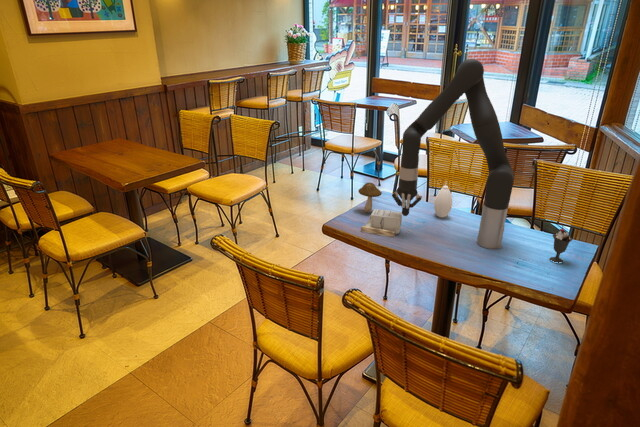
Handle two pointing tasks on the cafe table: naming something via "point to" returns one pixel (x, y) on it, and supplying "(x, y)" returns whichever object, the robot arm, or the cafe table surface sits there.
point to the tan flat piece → (377, 230)
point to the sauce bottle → (443, 202)
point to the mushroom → (369, 194)
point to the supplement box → (386, 220)
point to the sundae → (560, 244)
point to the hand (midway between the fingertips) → (405, 215)
